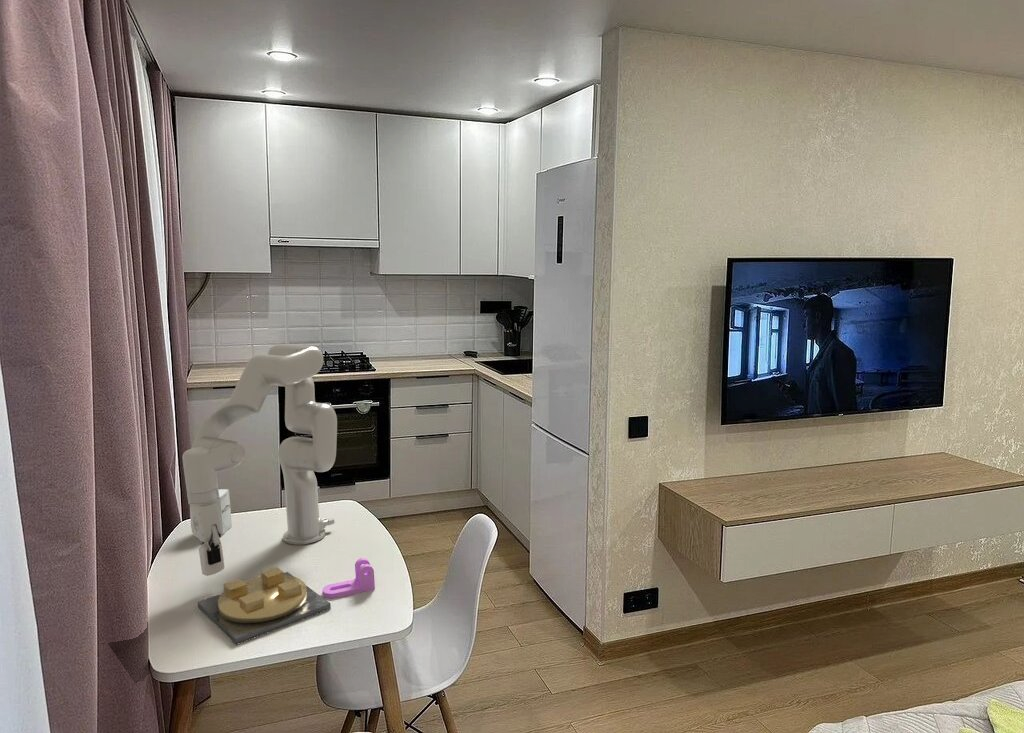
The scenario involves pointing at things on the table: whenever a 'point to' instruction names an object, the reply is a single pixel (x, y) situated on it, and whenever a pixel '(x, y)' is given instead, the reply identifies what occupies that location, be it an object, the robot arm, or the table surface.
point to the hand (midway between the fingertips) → (211, 559)
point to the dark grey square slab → (251, 630)
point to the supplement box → (224, 509)
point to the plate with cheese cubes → (262, 597)
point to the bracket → (353, 582)
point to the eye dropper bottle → (205, 566)
